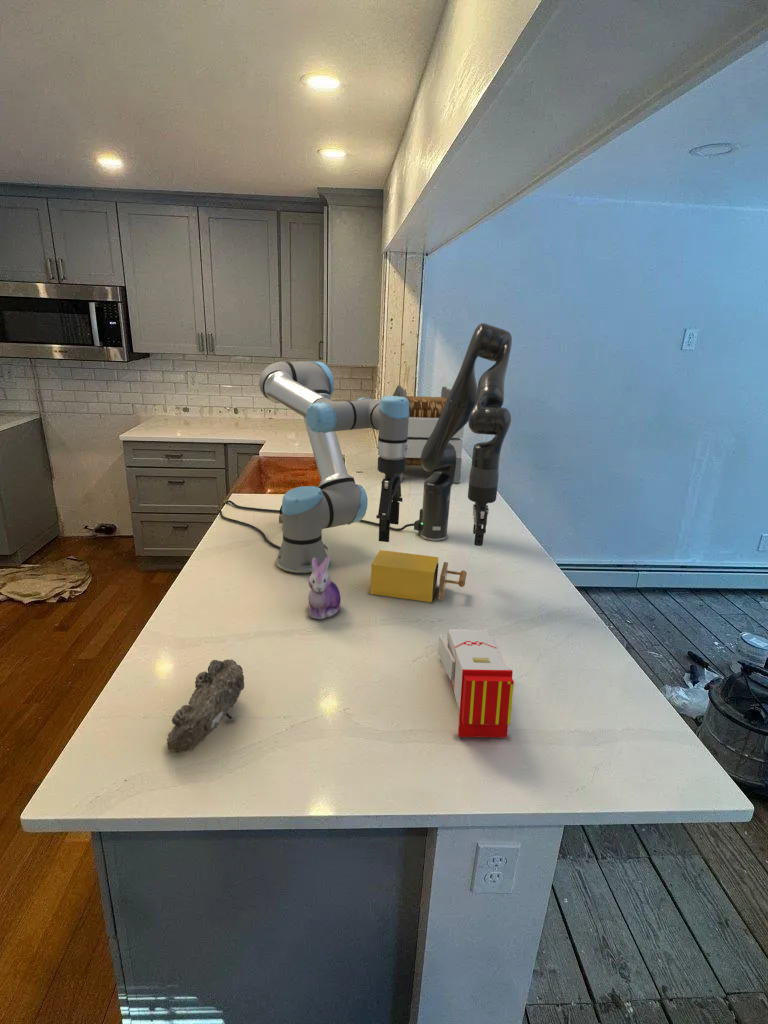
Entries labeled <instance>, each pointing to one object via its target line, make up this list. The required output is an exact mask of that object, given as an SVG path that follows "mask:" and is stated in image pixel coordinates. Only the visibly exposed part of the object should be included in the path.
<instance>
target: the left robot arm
mask: <svg viewBox="0 0 768 1024" xmlns="http://www.w3.org/2000/svg"><path fill="white" fill-rule="evenodd" d="M334 384H335V380H334V376H333V373H332V371H331V369H330V368H329V366H328V365H327V364H326V363H324V362H322V361H315V360H307V361H277V362H273V363H271V364H269V365H268V366H266V367H265V368H264V369H263V370H262V372H261V374H260V376H259V380H258V387H259V390H260V392H261V394H262V395H263V397H264V398H266V399H267V400H269V401H270V402H272V403H274V404H282V405H284V406H285V407H287V408H288V409H290V410H291V411H293V412H295V413H296V414H298V415H300V416H302V418H303V420H304V425H305V428H306V432H307V435H308V438H309V442H310V447H311V449H312V453H313V457H314V460H315V464H316V468H317V471H318V475H319V479H320V482H319V484H318V486H315V485H308V486H306V485H302V486H296V487H294V488H291V489H289V490H288V491H286V492H285V493H284V495H283V496H282V500H281V501H282V502H281V506H282V523H283V524H282V541H281V545H280V546H279V545H277V544H275V543H273V542H272V541H271V540H269V539H268V538H267V536H266V534H265V533H264V532H263V531H262V529H260V528H258V527H257V526H255V525H252V524H250V523H247V522H244V521H240V520H237V519H233V518H229V517H226V516H224V515H223V512H222V510H221V509H219V510H218V514H219V515H220V517H221V518H222V519H224V520H225V521H230V522H234V523H237V524H241V525H244V526H247V527H250V528H251V529H253V530H256V531H257V532H258V533H260V534H261V536H262V537H263V539H264V541H265V542H266V543H268V544H269V545H271V546H272V547H275V548H276V549H278V550H279V551H278V554H277V558H276V564H277V566H278V568H279V569H280V570H282V571H283V572H286V573H290V574H296V575H297V574H298V575H306V574H307V575H308V574H312V559H313V558H314V557H315V558H316V559H317V560H318V562H319V564H320V565H321V563H322V562H323V560H324V559H325V558H326V557H327V556H328V554H327V551H329V547H328V546H327V545H326V544H325V543H323V538H322V536H323V530H325V529H330V528H335V527H340V526H346V525H352V524H355V523H359V522H360V520H364V518H365V516H366V514H367V510H368V496H367V492H366V490H365V488H364V487H363V486H362V485H361V484H358V483H357V484H356V481H355V477H354V476H352V475H350V474H349V473H348V470H347V468H346V467H347V466H346V463H345V460H344V456H343V453H342V449H341V445H340V442H339V438H338V435H337V432H341V431H353V430H364V429H373V430H376V431H378V443H377V455H378V458H377V471H378V472H380V473H381V474H384V478H383V479H382V480H381V482H380V483H381V487H380V488H381V490H380V496H379V505H378V512H377V514H376V517H375V518H376V519H379V520H378V522H379V526H378V542H384V543H390V531H391V529H390V527H391V525H399V523H400V522H399V521H400V505H401V504H400V503H403V497H402V485H401V483H402V482H400V474H402V473H403V474H404V473H405V472H406V471H407V465H406V458H405V456H406V455H407V449H409V446H408V445H407V438H408V423H409V415H410V414H409V401H408V399H407V398H405V397H399V396H393V395H384V396H382V397H380V399H379V400H378V399H375V398H372V397H359V398H358V399H355V400H339V401H334V400H332V396H333V393H334V390H335V385H334ZM326 550H327V551H326Z"/></svg>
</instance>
